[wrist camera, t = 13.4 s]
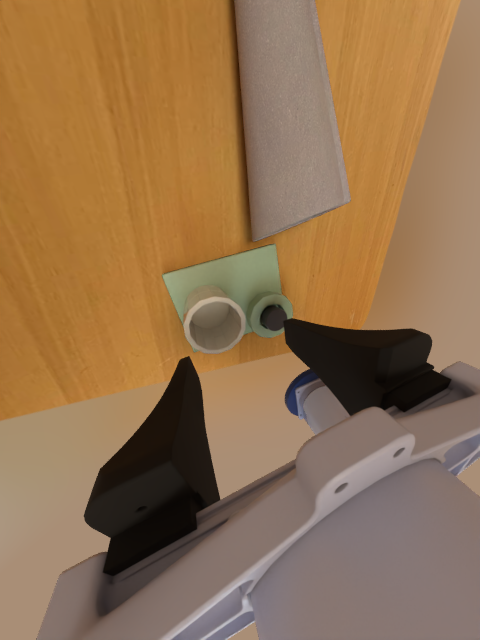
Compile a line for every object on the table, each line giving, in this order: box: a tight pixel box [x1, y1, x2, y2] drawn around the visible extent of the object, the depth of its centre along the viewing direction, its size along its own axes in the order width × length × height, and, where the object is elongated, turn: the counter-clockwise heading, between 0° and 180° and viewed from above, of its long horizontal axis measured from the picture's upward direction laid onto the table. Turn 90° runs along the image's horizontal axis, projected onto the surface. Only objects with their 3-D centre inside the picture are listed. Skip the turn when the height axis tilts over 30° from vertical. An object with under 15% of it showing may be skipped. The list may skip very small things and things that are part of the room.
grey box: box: [234, 0, 351, 242], centre depth 12 cm, size 8×9×26 cm
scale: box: [162, 244, 293, 352], centre depth 21 cm, size 11×13×2 cm
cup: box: [183, 285, 246, 354], centre depth 18 cm, size 6×6×6 cm
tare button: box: [261, 305, 287, 331], centre depth 21 cm, size 3×3×2 cm
